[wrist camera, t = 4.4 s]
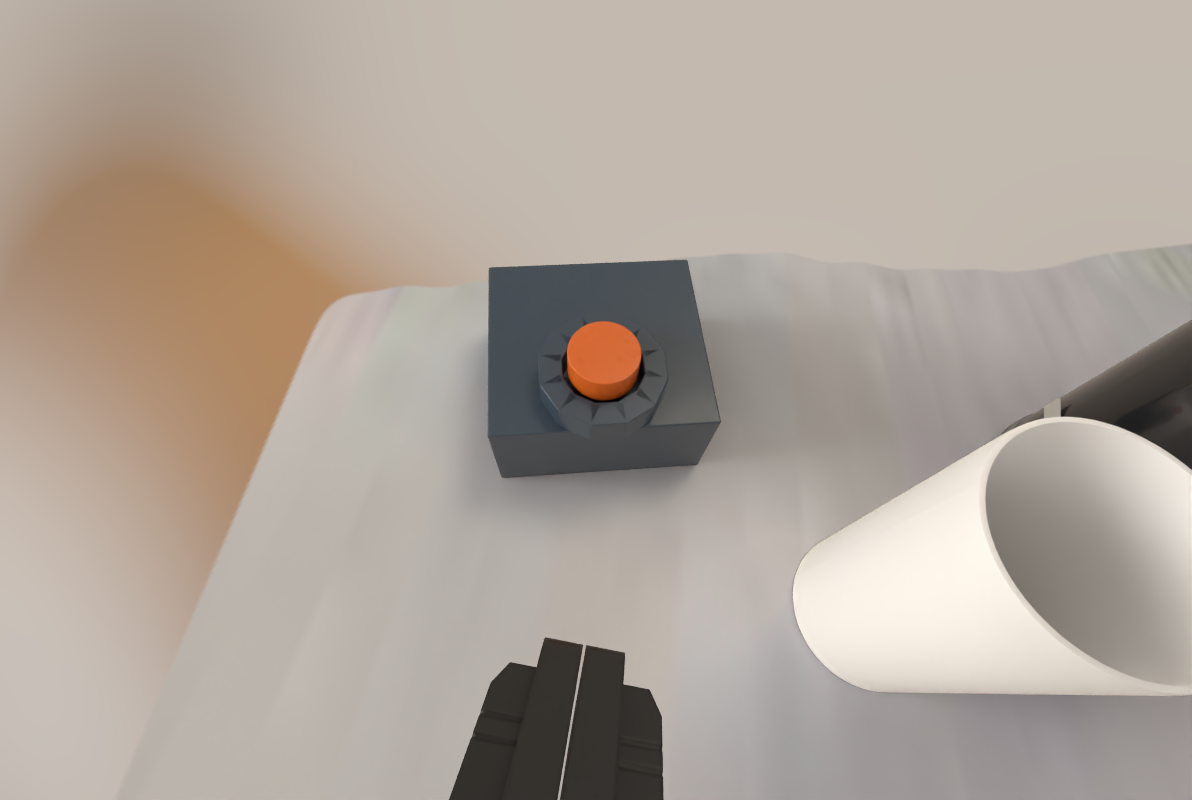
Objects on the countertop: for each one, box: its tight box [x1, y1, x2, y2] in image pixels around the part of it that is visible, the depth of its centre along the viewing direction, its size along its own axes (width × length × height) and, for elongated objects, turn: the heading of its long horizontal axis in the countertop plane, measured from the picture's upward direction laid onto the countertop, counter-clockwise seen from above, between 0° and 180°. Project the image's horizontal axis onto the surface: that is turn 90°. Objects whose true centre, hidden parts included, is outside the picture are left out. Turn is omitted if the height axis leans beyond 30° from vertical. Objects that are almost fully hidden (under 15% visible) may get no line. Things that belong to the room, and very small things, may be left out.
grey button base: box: [488, 260, 721, 478], centre depth 33 cm, size 12×12×8 cm
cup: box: [793, 417, 1192, 696], centre depth 24 cm, size 8×8×16 cm
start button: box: [567, 321, 642, 401], centre depth 27 cm, size 4×4×2 cm
